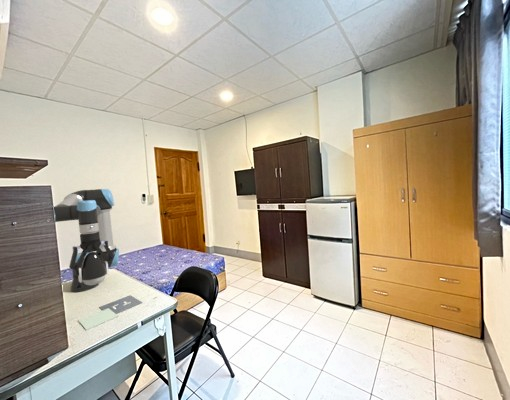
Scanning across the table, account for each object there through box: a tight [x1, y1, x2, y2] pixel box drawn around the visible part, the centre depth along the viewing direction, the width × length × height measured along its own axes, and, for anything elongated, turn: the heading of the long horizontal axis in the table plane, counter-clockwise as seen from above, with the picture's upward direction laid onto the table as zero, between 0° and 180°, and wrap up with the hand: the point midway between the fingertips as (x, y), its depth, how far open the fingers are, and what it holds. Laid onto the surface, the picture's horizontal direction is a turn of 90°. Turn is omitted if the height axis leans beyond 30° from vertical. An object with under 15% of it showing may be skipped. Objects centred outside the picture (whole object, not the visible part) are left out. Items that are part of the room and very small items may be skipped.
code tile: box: [98, 294, 143, 315], centre depth 124 cm, size 16×16×1 cm
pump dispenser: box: [81, 251, 107, 285], centre depth 110 cm, size 10×10×15 cm
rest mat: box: [77, 308, 119, 331], centre depth 111 cm, size 13×13×1 cm
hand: (94, 277), depth 110 cm, fingers closed on pump dispenser, 10 cm apart
